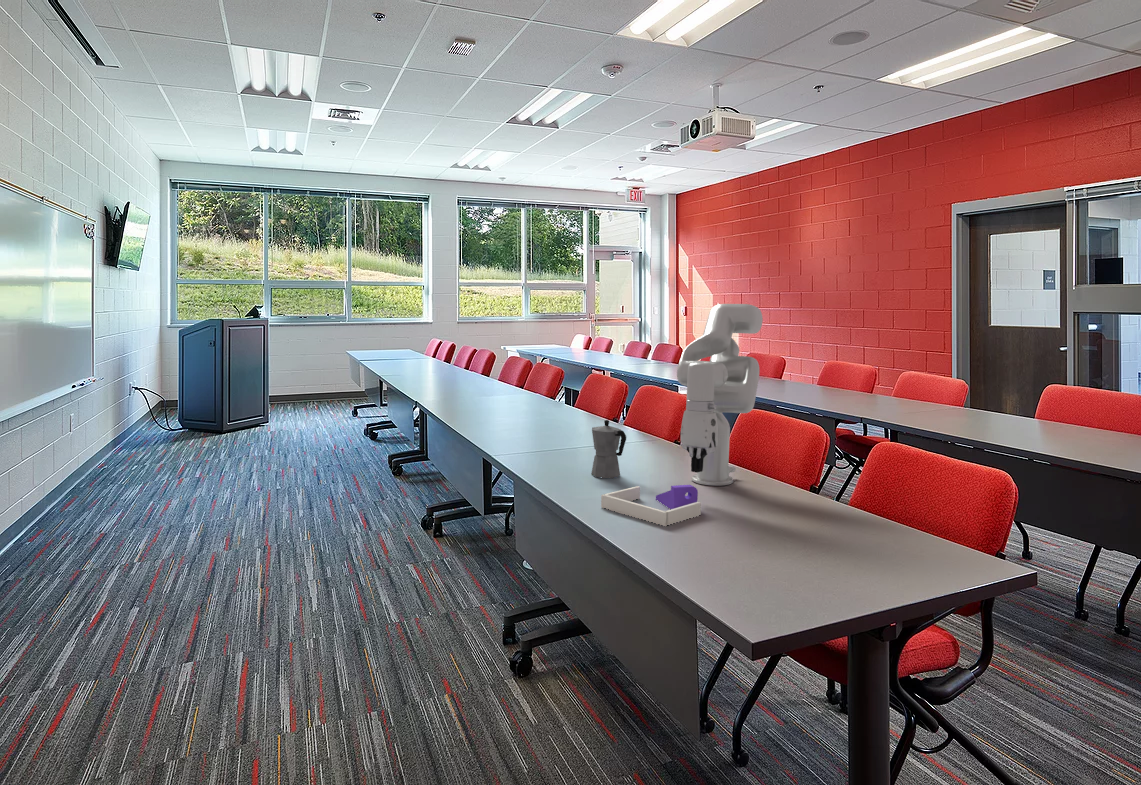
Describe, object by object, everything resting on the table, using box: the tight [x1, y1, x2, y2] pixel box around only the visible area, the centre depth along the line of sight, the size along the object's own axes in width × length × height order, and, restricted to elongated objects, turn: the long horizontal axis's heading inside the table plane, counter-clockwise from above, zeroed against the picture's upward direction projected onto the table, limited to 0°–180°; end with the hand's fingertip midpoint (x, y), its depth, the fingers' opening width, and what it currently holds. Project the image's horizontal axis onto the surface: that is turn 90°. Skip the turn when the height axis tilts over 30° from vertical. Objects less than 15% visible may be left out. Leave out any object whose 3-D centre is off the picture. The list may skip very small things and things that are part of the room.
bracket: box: [655, 484, 699, 510], centre depth 193 cm, size 12×7×7 cm, turn 16°
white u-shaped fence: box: [600, 485, 702, 527], centre depth 186 cm, size 14×22×4 cm, turn 43°
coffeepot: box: [591, 419, 627, 479], centre depth 224 cm, size 15×9×18 cm, turn 39°
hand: (696, 471), depth 198 cm, fingers closed
